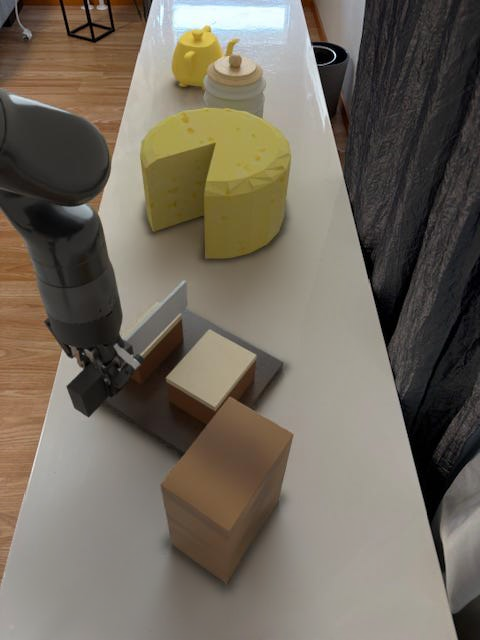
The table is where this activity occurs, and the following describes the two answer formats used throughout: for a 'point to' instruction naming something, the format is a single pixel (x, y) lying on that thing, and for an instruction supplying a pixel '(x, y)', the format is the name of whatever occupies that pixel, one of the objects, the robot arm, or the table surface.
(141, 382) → the slice
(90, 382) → the knife
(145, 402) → the board
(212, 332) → the cream-faced brown block
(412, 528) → the table surface
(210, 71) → the jar
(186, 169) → the cheese
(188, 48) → the teapot
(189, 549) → the stand
